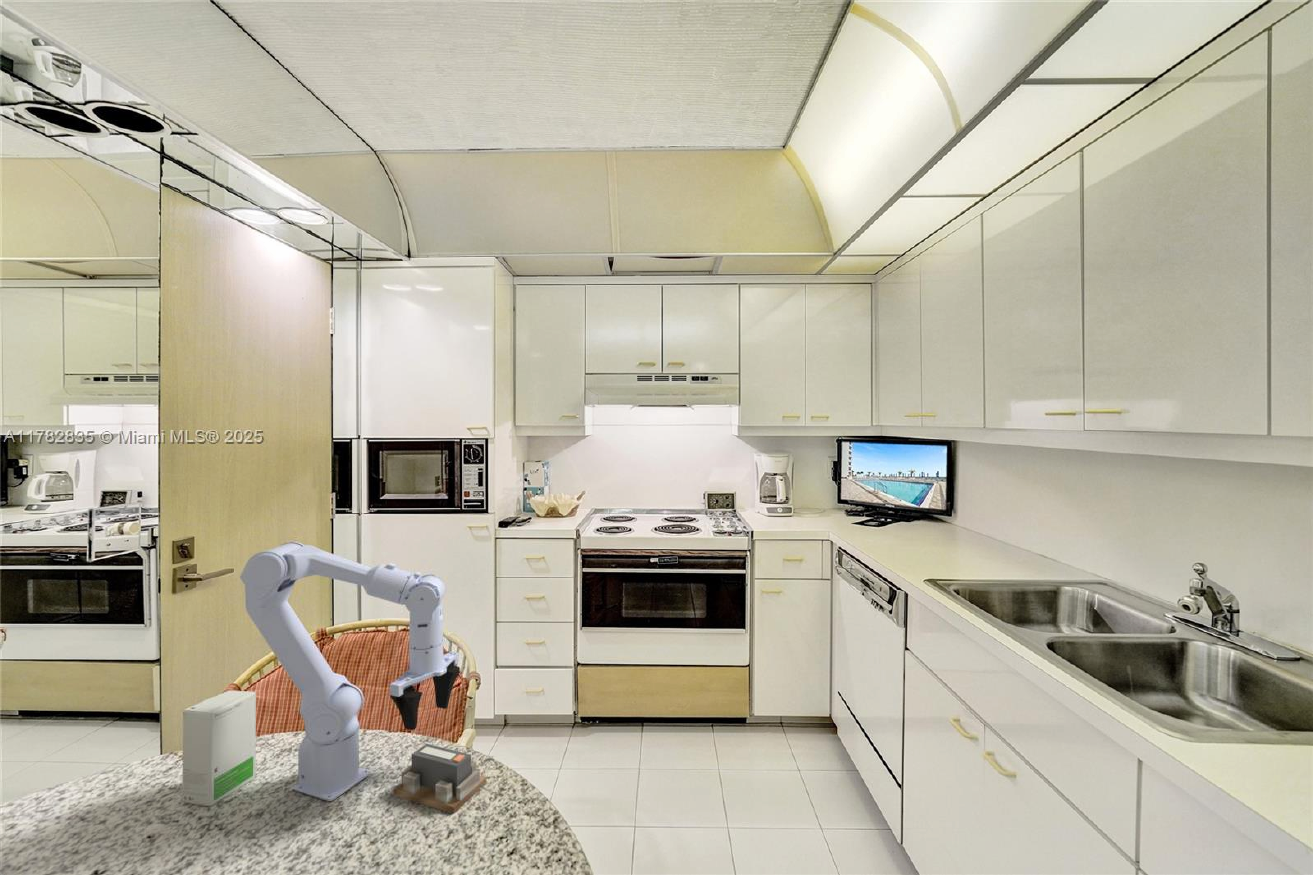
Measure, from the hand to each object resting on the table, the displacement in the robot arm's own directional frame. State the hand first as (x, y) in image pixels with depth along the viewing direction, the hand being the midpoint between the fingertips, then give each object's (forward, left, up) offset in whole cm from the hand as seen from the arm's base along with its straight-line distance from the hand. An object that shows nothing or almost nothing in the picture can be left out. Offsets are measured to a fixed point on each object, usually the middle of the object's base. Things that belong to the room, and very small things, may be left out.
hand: (426, 717), depth 94 cm
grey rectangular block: (+6, -3, -9) cm, 11 cm away
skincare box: (-31, -16, -10) cm, 36 cm away
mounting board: (+6, -3, -10) cm, 12 cm away
